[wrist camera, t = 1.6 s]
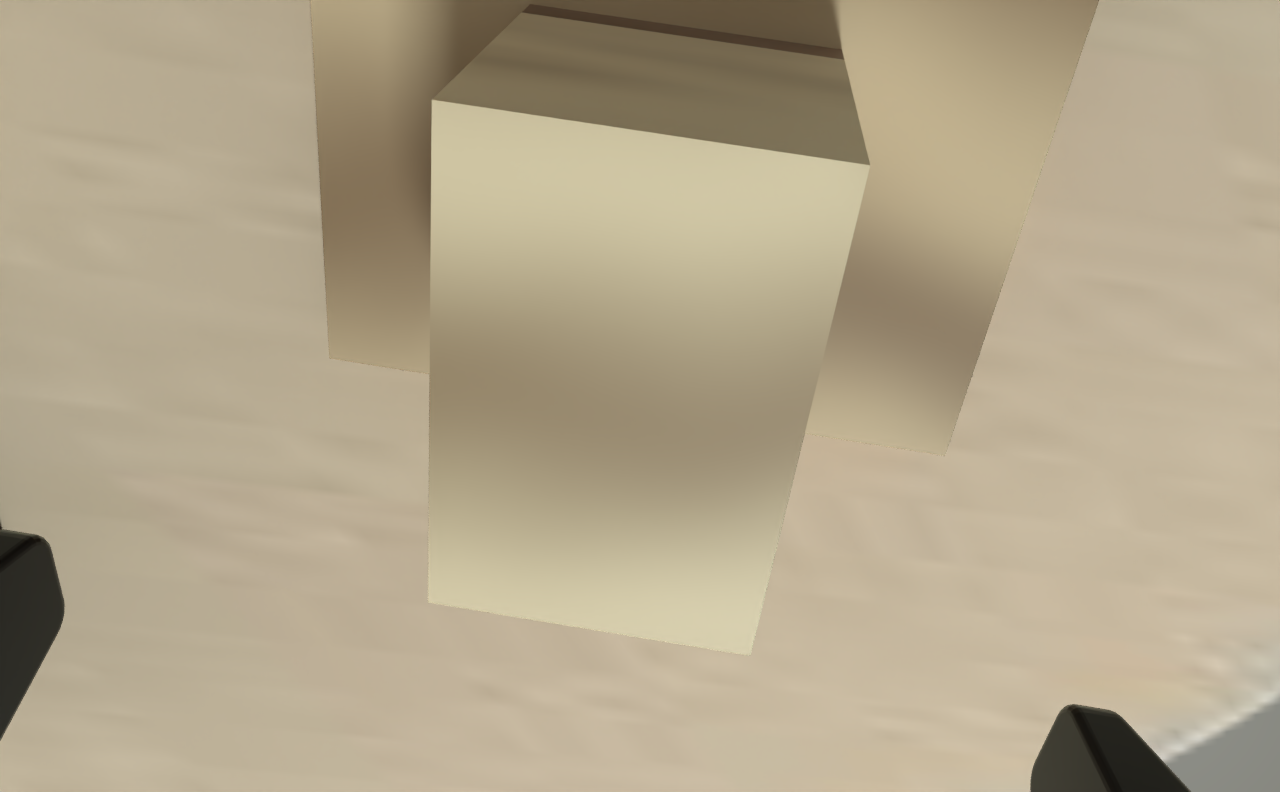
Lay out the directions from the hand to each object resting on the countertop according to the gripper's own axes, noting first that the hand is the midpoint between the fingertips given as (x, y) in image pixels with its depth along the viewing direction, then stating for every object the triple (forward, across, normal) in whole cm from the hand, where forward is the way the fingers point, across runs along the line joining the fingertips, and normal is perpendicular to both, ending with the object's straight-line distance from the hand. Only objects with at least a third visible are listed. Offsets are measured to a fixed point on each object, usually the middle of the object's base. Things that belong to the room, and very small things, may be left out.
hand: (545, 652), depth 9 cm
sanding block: (+9, 0, 0) cm, 9 cm away
